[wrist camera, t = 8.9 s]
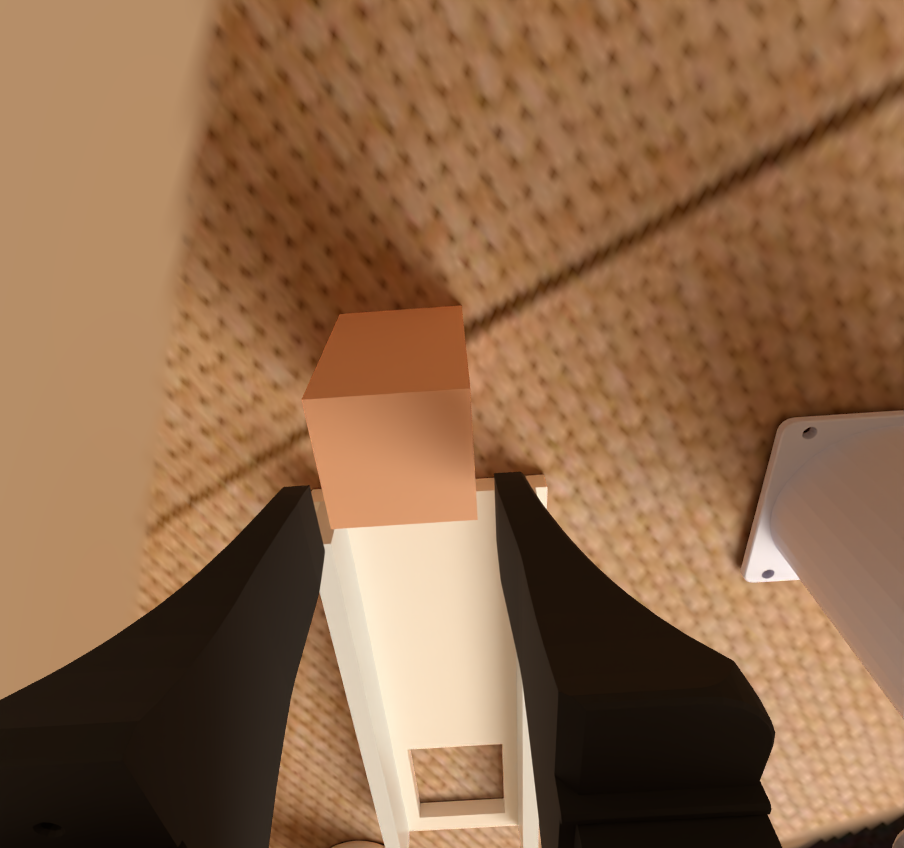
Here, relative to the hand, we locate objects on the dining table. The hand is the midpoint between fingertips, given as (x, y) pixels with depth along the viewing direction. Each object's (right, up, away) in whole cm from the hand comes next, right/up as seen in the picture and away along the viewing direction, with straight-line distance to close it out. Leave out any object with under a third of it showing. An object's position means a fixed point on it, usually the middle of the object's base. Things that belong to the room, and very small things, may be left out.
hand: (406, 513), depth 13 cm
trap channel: (+1, -11, +15) cm, 18 cm away
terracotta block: (0, +1, +5) cm, 5 cm away
